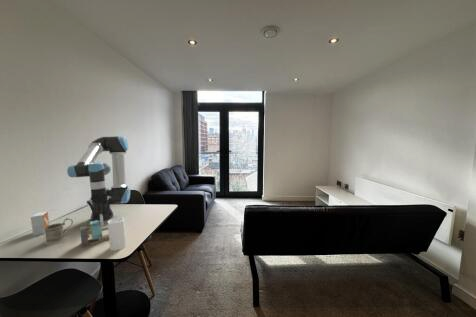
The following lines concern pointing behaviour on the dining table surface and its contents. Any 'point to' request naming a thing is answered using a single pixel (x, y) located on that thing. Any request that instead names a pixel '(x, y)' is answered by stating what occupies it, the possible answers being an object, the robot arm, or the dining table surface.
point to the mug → (55, 233)
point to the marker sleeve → (95, 229)
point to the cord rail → (85, 242)
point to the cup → (117, 233)
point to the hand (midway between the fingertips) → (102, 224)
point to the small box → (39, 223)
